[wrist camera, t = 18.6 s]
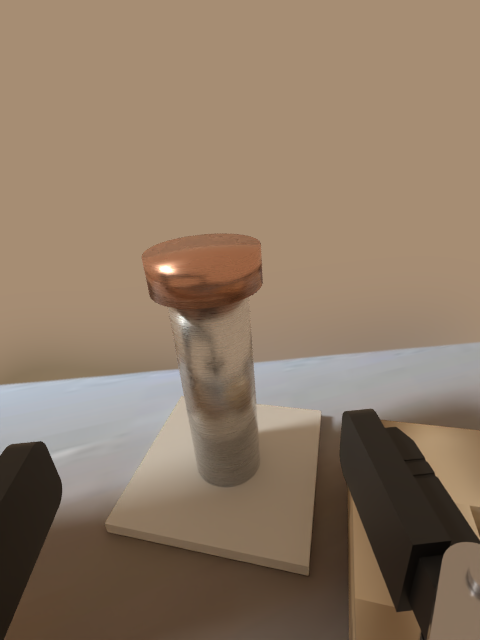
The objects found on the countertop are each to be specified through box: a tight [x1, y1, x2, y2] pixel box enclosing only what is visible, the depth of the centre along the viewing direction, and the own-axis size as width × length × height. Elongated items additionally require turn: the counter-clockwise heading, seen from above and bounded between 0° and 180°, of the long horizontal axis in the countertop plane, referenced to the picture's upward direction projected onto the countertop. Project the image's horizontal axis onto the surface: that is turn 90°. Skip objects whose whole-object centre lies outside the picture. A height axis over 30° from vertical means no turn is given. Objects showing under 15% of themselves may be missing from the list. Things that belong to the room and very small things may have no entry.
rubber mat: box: [104, 396, 321, 576], centre depth 25 cm, size 12×12×1 cm
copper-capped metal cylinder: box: [142, 234, 263, 488], centre depth 22 cm, size 6×6×15 cm
